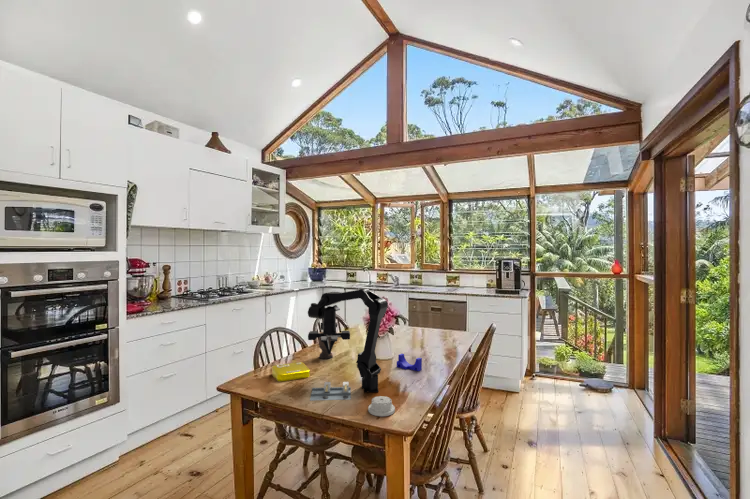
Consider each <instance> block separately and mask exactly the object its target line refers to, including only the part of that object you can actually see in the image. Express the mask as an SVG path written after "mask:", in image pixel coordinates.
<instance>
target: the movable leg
mask: <svg viewBox="0 0 750 499" xmlns="http://www.w3.org/2000/svg"><path fill="white" fill-rule="evenodd" d="M331 387H332V385H331V381H324V384H323V388H324V393H330V389H331Z"/></svg>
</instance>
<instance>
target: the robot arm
mask: <svg viewBox="0 0 750 499" xmlns="http://www.w3.org/2000/svg"><path fill="white" fill-rule="evenodd" d="M357 299H361V301H362V302H363V303H364V305H365V306H366V307H367V308H368V311H367V312H368V313H367V314H368V316H369V322H368V328H367V333H366V338H365V342H364V348H363V351H361V352H359V353H357V359H356V362H355V363H356V368H357V370H358V372H359V375H360V377H361V389H362V390H363V393H378V392H379V374H380V373H381V372H382V368H381V367H380V365H379V364H378V363H377V356H376V347H377V342H378V338H379V332H380V328H381V323H382V319H383V317H384V316H385V314H386V313H387V310H388V308H389V306H388V305H389V303H388V301H387V300H386V299H385V298H383V297H381V296H379V295H378V294H377V293H375V292H373V291H371V290H370V289H369V288H365V287H364V288H360V289H356V290H351V291H343V292H342V291H341V292H340V291H329V292H328V291H327V292H324V293H322V294H321V297H320V299H319V301H318V302H317V303H316V302H312V303H310V305H309V308H308V311H307V316H308V317H309V318H310V319H318V320H319V319H320V320H321V319H322V322H320V330H321V331H322V332H323V333H320V332H319V331H317V330H313V331H312V330H310V331H309V332H308V334H307V340H308V341H316V340H317V338H318V337H321V342H323V343H324V344H325V346H326V349H327V352H328V354H330V353H332V350H333V347H334V345H335V343H336V342H338V338H341V339H342V340H348V341H349V340H351V331H349V330H340V331H341V332H337V328H336V323H337V322H336V321H337V318H336V317H337V316H336V314H337V313H336V312H338V311H340V310H341V308H340V307H339V306H338V305H337V304H338V303H341V302H344V301H350V300H351V301H352V300H357ZM332 305H333V306H332ZM328 337H331V343H330V350H329V343H328Z"/></svg>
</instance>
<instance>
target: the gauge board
mask: <svg viewBox="0 0 750 499" xmlns="http://www.w3.org/2000/svg"><path fill="white" fill-rule="evenodd" d="M349 383H350V382H349V381H343V382H342V386H338V387H337V386H336V387H335V386H334V387H333V386H331V389H330V393H324V387H312V388H311V393H310V398H309V401H343V400H345V401H348V400H350V401H351V399H352V396H351V394H352V393H351V390H352V389H351V388H352V387H351V386H349V385H350V384H349Z"/></svg>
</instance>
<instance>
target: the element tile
mask: <svg viewBox="0 0 750 499" xmlns="http://www.w3.org/2000/svg"><path fill="white" fill-rule="evenodd" d="M271 370H272V372H271V373H272V374H271V375H272V377H273V378H274V379H275V380H276V381H277V382H287V381H294V380H300V379H307V378H310V376H311V374H310V373H311V370H310V368H309V367H308V366H307V365H306V364H305V363H304V362H302V361H299V362H298V361H297V362H291V363H283V364H282V363H281V364H276V365H273V366H272V369H271Z"/></svg>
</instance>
